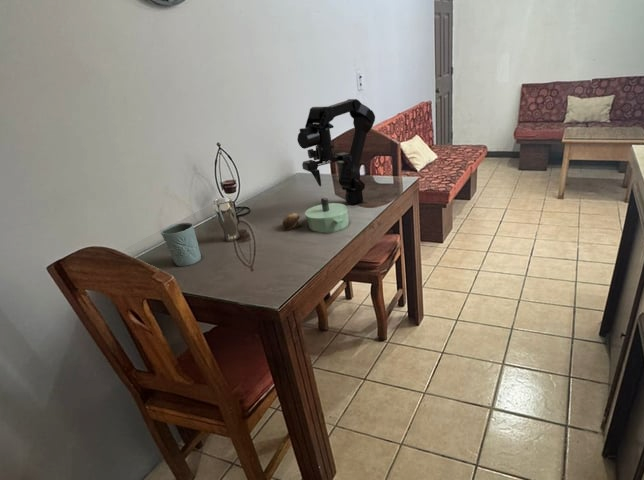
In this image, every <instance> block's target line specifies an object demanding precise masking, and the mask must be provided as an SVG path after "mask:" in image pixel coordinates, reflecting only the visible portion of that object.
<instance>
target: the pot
mask: <svg viewBox="0 0 644 480" xmlns="http://www.w3.org/2000/svg"><path fill="white" fill-rule="evenodd" d="M307 222H308V227H309V228H308V229H310V230H312V232H313V231H314V232H318V233H320V234H330V233H335V232H338V231H341V230H344V229H345V228H347V227H348V226H349V223H350V219H349V213H348V211H347V212H346V213H344V214H343V215H341V216H338V217H335V218H331V219H324V220H314V219H309V218H307Z"/></svg>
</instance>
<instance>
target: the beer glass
mask: <svg viewBox="0 0 644 480" xmlns="http://www.w3.org/2000/svg"><path fill="white" fill-rule="evenodd" d="M212 206H213V210H214V214H215V217H216V219H217V221H218V223H219V225H220V227H221V229H222V231H223V235H224V236H223V237H224V241H225V242H227V243H230V242H231V243H232V242H235V241H238V240H240V239H241V238H242V234H241V232H240V230H239V228H238V227H239V226H238V220H237V213H236V208H235V206H234V203H233V201H232V198H231V197H229V196H227V197H224V196H223V197H219V198H216V199H214V200H212Z"/></svg>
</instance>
